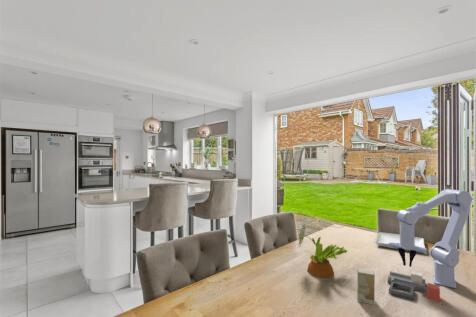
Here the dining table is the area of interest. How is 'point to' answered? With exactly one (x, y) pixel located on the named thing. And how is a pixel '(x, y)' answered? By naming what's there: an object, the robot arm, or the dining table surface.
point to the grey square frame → (400, 293)
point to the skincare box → (365, 285)
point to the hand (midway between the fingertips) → (407, 265)
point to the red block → (433, 292)
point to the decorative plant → (321, 257)
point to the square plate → (395, 240)
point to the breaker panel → (406, 281)
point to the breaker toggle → (416, 277)
